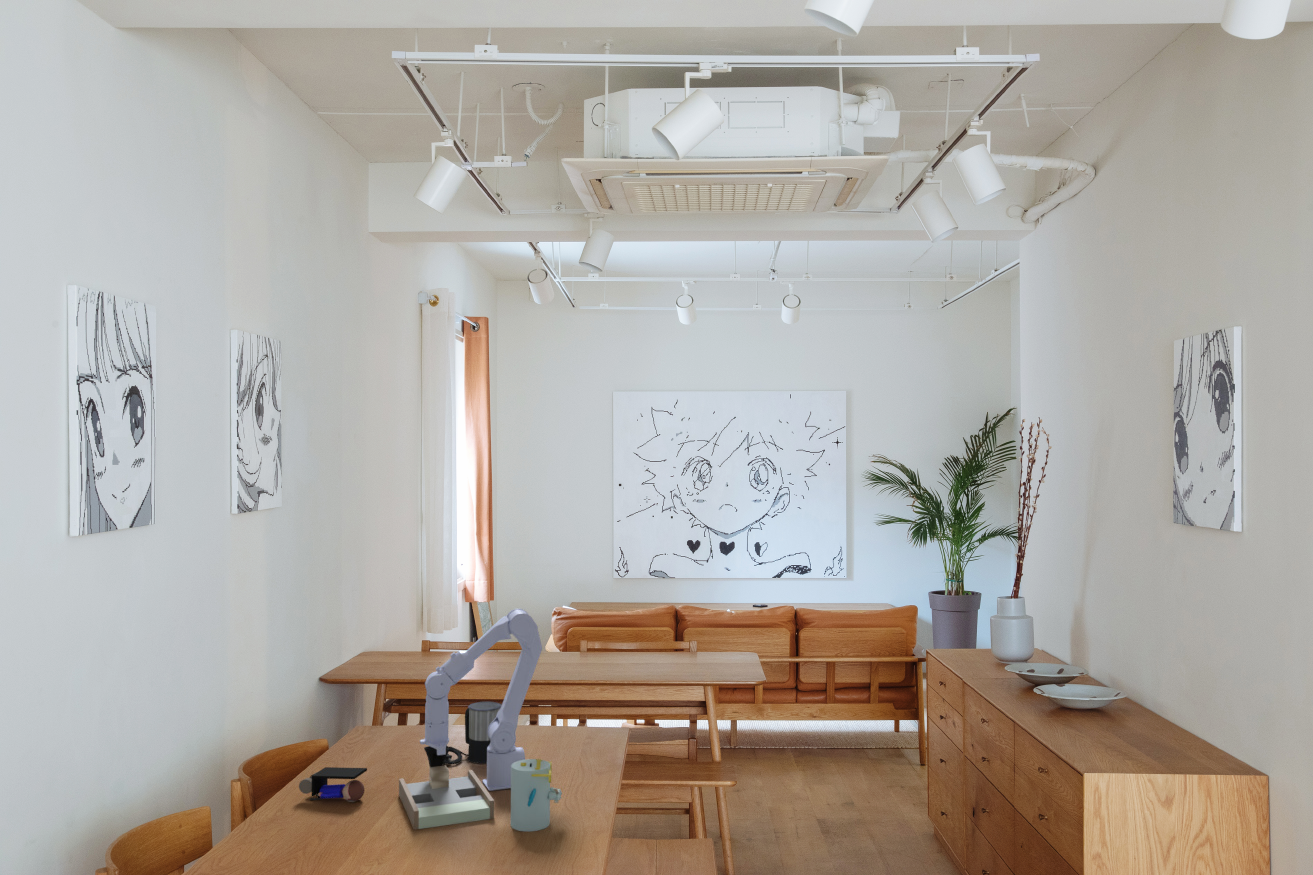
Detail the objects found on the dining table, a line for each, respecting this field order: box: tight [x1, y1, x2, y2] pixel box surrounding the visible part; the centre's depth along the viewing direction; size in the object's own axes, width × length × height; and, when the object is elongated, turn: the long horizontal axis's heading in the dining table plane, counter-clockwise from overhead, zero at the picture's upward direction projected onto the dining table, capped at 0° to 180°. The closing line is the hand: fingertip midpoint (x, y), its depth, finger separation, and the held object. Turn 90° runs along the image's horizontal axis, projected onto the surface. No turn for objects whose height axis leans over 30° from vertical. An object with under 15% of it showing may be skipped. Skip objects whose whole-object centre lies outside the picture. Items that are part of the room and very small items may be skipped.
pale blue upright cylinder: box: [510, 758, 563, 832], centre depth 209 cm, size 20×12×13 cm, turn 6°
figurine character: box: [298, 766, 368, 803], centre depth 224 cm, size 7×8×15 cm
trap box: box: [398, 769, 495, 831], centre depth 219 cm, size 18×24×4 cm
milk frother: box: [443, 701, 502, 765], centre depth 255 cm, size 14×16×15 cm
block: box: [428, 764, 450, 789], centre depth 227 cm, size 4×4×4 cm
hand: (436, 776), depth 231 cm, fingers closed
